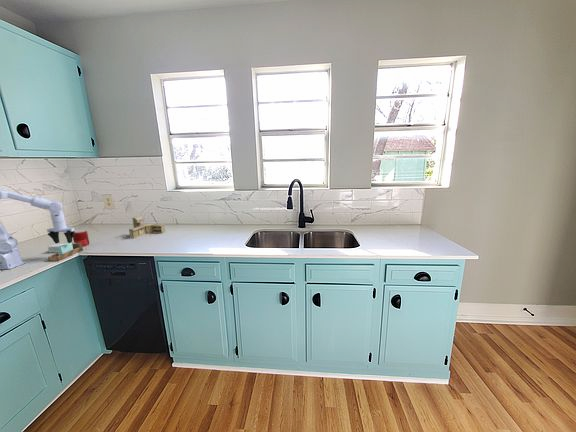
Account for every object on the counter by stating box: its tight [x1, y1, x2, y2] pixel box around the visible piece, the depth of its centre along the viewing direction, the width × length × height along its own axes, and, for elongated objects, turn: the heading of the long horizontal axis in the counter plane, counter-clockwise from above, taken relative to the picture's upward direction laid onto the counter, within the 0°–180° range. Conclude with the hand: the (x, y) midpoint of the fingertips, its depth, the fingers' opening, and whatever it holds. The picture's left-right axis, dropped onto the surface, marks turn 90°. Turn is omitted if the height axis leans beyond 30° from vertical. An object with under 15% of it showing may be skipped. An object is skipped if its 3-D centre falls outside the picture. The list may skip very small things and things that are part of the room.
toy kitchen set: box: [128, 215, 166, 239], centre depth 190 cm, size 18×17×15 cm
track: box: [47, 242, 84, 263], centre depth 151 cm, size 18×6×5 cm, turn 3°
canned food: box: [72, 228, 90, 248], centre depth 169 cm, size 8×8×11 cm
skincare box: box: [47, 243, 66, 254], centre depth 160 cm, size 6×4×12 cm
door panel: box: [57, 242, 73, 255], centre depth 151 cm, size 8×2×6 cm, turn 3°
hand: (63, 242), depth 150 cm, fingers open, 7 cm apart
